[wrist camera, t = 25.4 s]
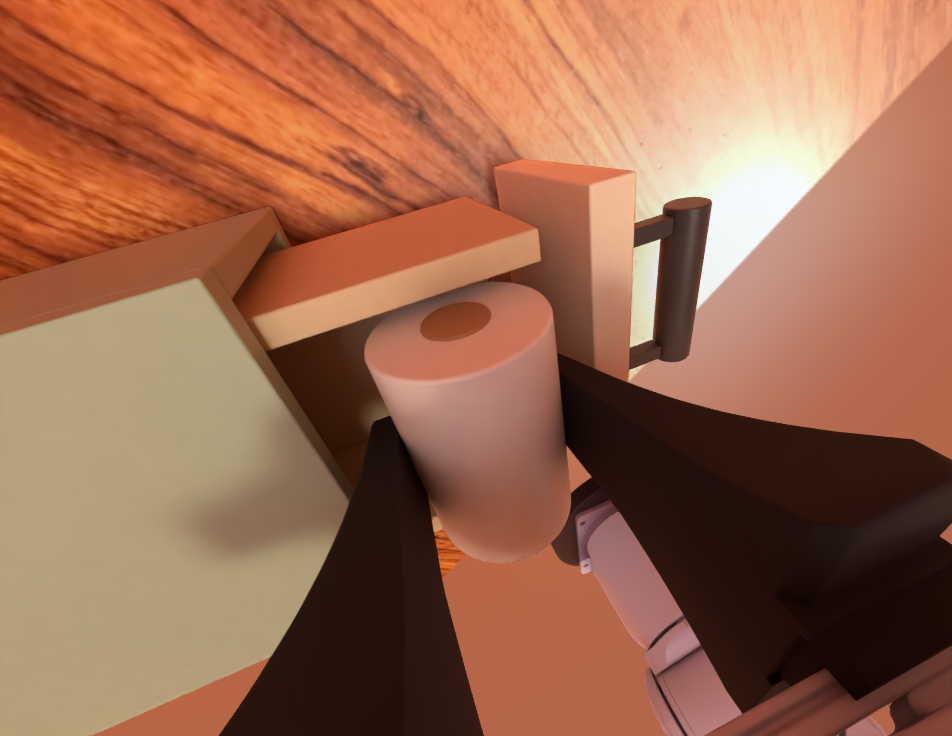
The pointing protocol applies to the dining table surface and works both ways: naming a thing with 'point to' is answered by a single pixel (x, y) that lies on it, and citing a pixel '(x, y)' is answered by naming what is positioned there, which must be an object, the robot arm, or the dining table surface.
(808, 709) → the robot arm
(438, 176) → the dining table surface
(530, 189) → the drawer
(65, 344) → the cabinet
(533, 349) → the paper towel roll
